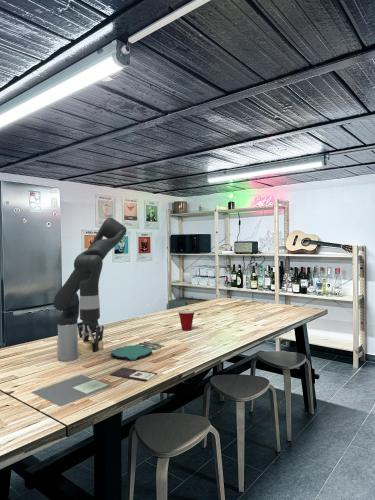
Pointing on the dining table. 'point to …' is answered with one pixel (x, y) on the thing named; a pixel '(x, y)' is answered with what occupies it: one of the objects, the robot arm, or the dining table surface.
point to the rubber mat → (70, 390)
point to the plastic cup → (186, 319)
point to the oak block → (88, 347)
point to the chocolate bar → (133, 374)
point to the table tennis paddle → (134, 351)
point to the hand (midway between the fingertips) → (90, 350)
